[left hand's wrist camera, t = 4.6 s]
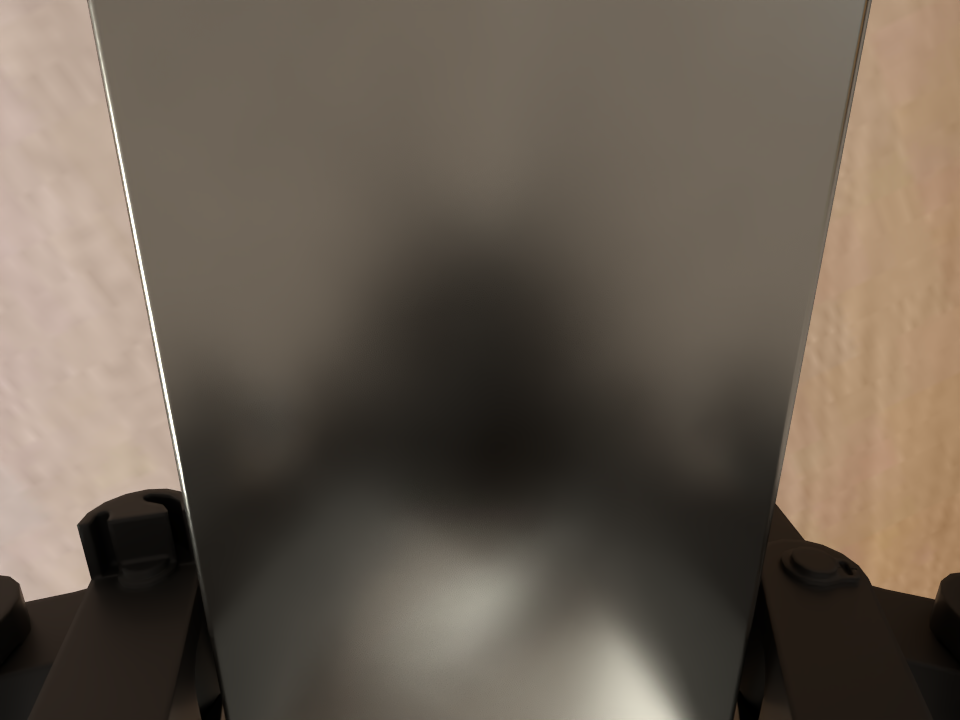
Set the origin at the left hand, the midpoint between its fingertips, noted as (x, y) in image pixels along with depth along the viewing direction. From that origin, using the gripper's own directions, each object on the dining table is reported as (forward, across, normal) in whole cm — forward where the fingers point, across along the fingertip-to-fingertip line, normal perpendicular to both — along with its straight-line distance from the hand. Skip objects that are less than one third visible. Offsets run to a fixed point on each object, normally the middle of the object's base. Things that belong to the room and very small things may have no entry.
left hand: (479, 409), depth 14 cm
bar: (0, 0, -9) cm, 9 cm away
